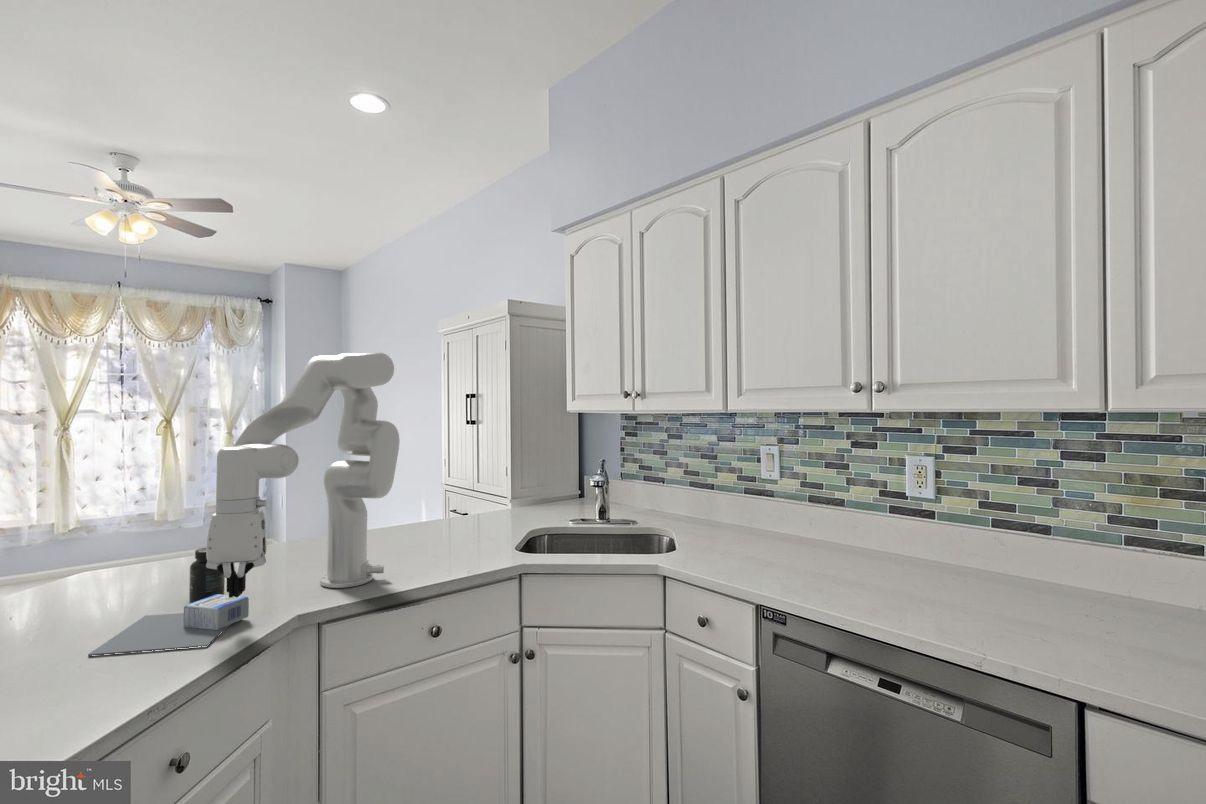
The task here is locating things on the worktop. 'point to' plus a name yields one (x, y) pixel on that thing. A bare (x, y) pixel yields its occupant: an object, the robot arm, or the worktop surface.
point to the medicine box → (216, 612)
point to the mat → (157, 635)
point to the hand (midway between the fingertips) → (235, 595)
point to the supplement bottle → (204, 578)
